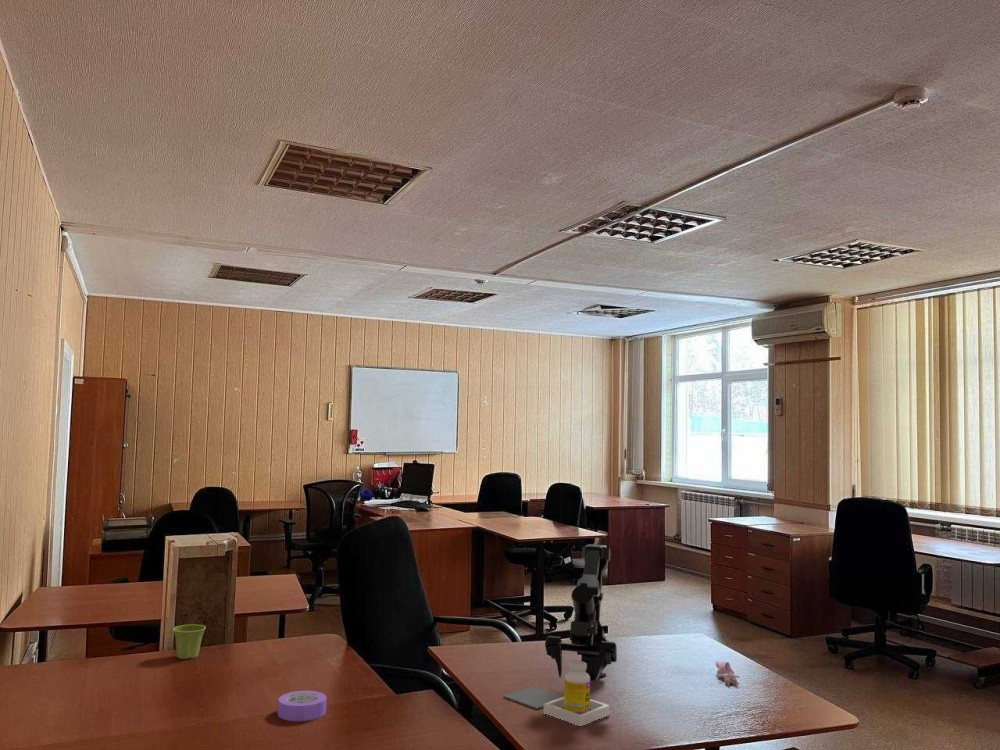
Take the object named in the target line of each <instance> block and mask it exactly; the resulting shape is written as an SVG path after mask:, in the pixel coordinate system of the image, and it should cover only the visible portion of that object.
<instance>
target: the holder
mask: <svg viewBox="0 0 1000 750" xmlns="http://www.w3.org/2000/svg"><path fill="white" fill-rule="evenodd" d="M610 707H611V705H610V704H606V703H604V702H601V701H599V700H598V701H597V700H595V699H592V698H590V710H591V711H588V712H586V713H583V714H581V715H580V714H577V713H574V712H571V711H568V710H565V709H562V708H564V697H561V698H559V699H556V700H553V701H550V702H547V703H545V704H544V707H543V713H544V714H543V715H545V714H547V715H546V716H548V715H550V716H549V717H551V716H553V717H555V718H554V719H556V718H558V719H557V720H559V719H561V720H560V721H562V720H564V721H567V722H569V723H568V724H570V723H572V724H571V725H573V724H575V725H574V726H576V725H578V726H583V725H585V726H587V725H586V724H588V723H590V724H592V723H591V722H593V721H595V720H597V721H599V720H598V719H600V720H602V719H604V717H605V718H606V716H607V717H609V716H611V715H610V714H611V713H610V712H611V711H610V709H611V708H610ZM553 717H552V718H553ZM601 718H602V719H601ZM564 721H563V722H564ZM567 722H566V723H567ZM595 722H596V721H595ZM593 723H594V722H593ZM588 725H589V724H588ZM578 726H577V727H578ZM583 727H584V726H583Z"/></svg>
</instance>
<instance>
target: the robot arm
mask: <svg viewBox="0 0 1000 750" xmlns="http://www.w3.org/2000/svg"><path fill="white" fill-rule="evenodd" d="M581 554H582V555H581V559H583V560H584V566H583V573H582V577H580V578H579V579H577V581H576V582H577V583H576V585H575V587H574V588H573V589H572V592H571V595H570V596H571V601H572V606H573V611H574V616H573V617H574V618H573V621H570V629H569V631H570V632H569V640H570V642H562V637H561V636H553V635H548V636H547V637H546V638H545V642H544V646H545V651H546V655H547V656H549V657H550V658H551V659H553V660H555V663H556V666H557V673H558V677H559V678H562V674H563V672H562V671H563V651H564V652H565V651H567V652H576V655H577V656H581V658H580V661H583V662H585V663H586V664H587V669H586V673H588V674H589V676H590V680H594V682H597V681H598V680H599V678H602V677H603V678H604V677H606V676H607V673H606V672H603V671H604V669H606V667H607V666H608V665H612V663H616V662H617V661H618V659H617V658H618V649H617V647H618V646H617V644H616V642H614V641H608V640H607V636H606V635H605V630H604V628H603V626H602V624H601V622H600V621H601V620H600V619H601V604H602V600H603V599H604V593H603V591H602V588H603V587H602V586H603V585H602V584H603V575H604V573H605V572H606V570H607V569H608V567H609V561H611V555H612V554H611V548H610V547H608V546H607V544H605V545H604V544H593V543H592V544H591V543H590V544H589V543H588V544H586V545H585V546H582V553H581Z"/></svg>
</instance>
